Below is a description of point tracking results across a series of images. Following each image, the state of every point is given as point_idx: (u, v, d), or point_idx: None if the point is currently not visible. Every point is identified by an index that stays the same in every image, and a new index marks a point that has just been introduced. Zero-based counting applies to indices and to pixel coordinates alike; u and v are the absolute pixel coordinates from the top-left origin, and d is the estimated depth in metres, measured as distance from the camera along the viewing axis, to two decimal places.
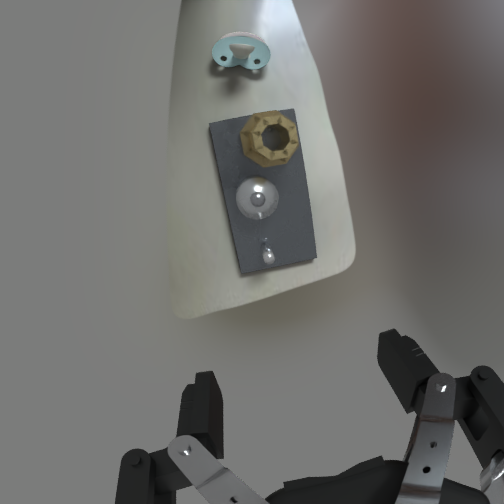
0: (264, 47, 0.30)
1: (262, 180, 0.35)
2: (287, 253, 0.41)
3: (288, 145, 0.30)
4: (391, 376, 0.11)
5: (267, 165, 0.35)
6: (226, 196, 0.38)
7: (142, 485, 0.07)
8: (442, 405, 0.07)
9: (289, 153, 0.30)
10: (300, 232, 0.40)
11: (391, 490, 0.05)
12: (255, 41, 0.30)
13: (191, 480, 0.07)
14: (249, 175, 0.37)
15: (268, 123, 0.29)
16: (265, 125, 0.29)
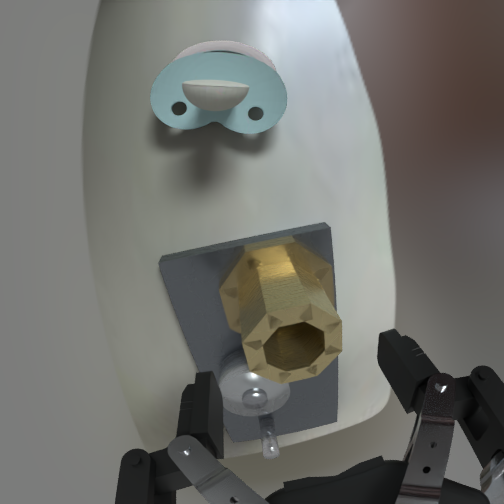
0: (272, 79, 0.14)
1: None
2: (296, 424, 0.25)
3: (320, 358, 0.14)
4: (391, 376, 0.11)
5: None
6: None
7: (142, 485, 0.07)
8: (442, 405, 0.07)
9: (320, 370, 0.14)
10: (318, 403, 0.24)
11: (391, 490, 0.05)
12: (251, 63, 0.14)
13: (191, 480, 0.07)
14: (240, 347, 0.21)
15: (280, 323, 0.13)
16: (273, 328, 0.13)
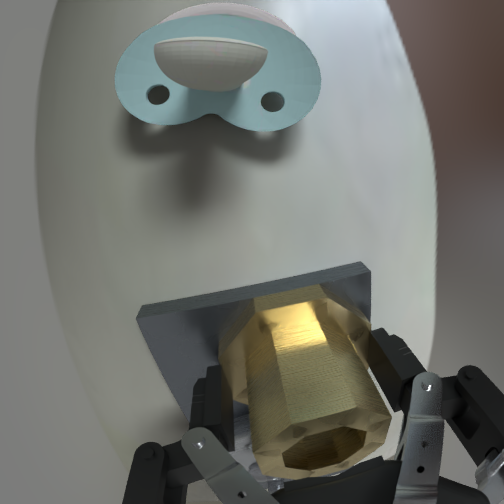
0: (298, 52, 0.09)
1: None
2: None
3: (355, 454, 0.09)
4: (379, 375, 0.12)
5: None
6: None
7: (153, 479, 0.07)
8: (430, 404, 0.07)
9: (352, 463, 0.09)
10: None
11: (386, 492, 0.05)
12: (266, 30, 0.09)
13: (201, 472, 0.07)
14: (246, 412, 0.15)
15: (309, 432, 0.08)
16: (298, 437, 0.08)
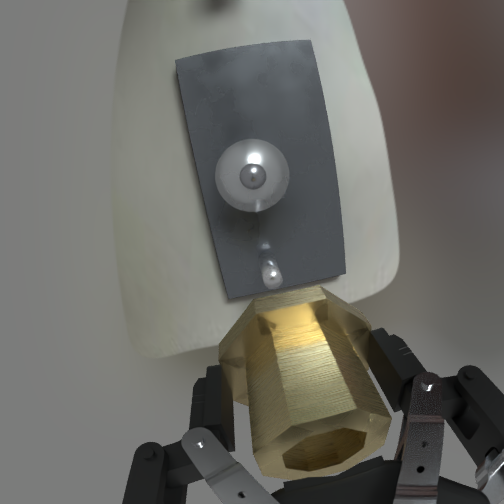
0: None
1: (261, 144, 0.19)
2: (301, 268, 0.26)
3: (355, 455, 0.09)
4: (379, 375, 0.12)
5: None
6: (201, 174, 0.22)
7: (153, 479, 0.07)
8: (430, 404, 0.07)
9: (352, 464, 0.09)
10: (322, 234, 0.25)
11: (386, 492, 0.05)
12: None
13: (201, 472, 0.07)
14: (239, 139, 0.21)
15: (309, 433, 0.08)
16: (298, 439, 0.08)
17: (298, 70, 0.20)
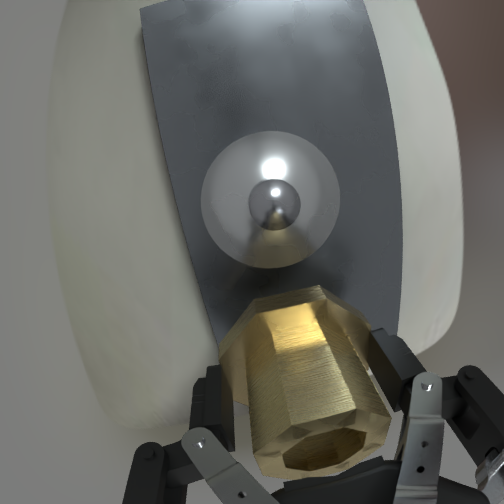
0: None
1: (290, 141, 0.10)
2: None
3: (355, 454, 0.09)
4: (379, 375, 0.12)
5: None
6: (179, 195, 0.13)
7: (153, 479, 0.07)
8: (430, 404, 0.07)
9: (352, 464, 0.09)
10: (373, 287, 0.15)
11: (386, 492, 0.05)
12: None
13: (201, 472, 0.07)
14: (246, 133, 0.12)
15: (309, 433, 0.08)
16: (298, 438, 0.08)
17: (343, 25, 0.10)
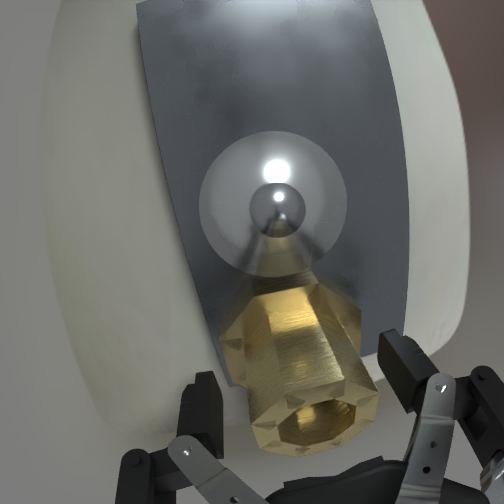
0: None
1: (294, 142, 0.09)
2: None
3: (347, 430, 0.10)
4: (391, 376, 0.11)
5: None
6: (177, 199, 0.12)
7: (142, 485, 0.07)
8: (442, 405, 0.07)
9: (345, 441, 0.10)
10: (378, 294, 0.15)
11: (391, 490, 0.05)
12: None
13: (191, 480, 0.07)
14: (247, 133, 0.11)
15: (302, 403, 0.09)
16: (292, 408, 0.09)
17: (348, 21, 0.10)
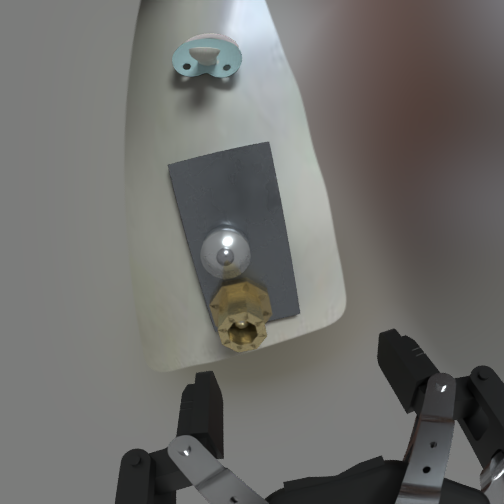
0: (235, 49, 0.25)
1: (230, 234, 0.30)
2: None
3: (256, 339, 0.30)
4: (391, 376, 0.11)
5: None
6: (192, 250, 0.33)
7: (142, 485, 0.07)
8: (442, 405, 0.07)
9: (257, 345, 0.30)
10: (280, 287, 0.35)
11: (391, 490, 0.05)
12: (224, 43, 0.25)
13: (191, 480, 0.07)
14: (217, 225, 0.32)
15: (234, 321, 0.29)
16: (231, 323, 0.29)
17: (259, 169, 0.30)
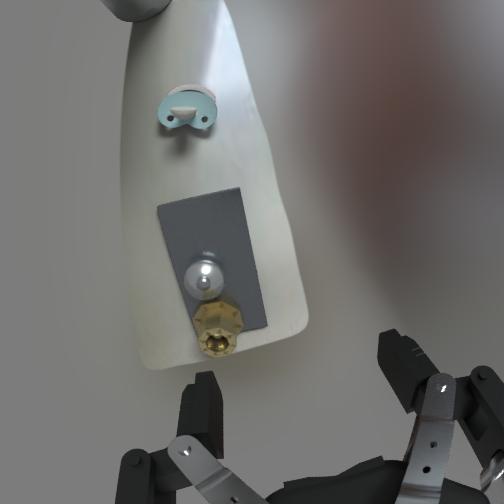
0: (211, 103, 0.32)
1: (207, 266, 0.37)
2: None
3: (228, 348, 0.37)
4: (391, 376, 0.11)
5: None
6: (178, 275, 0.40)
7: (142, 485, 0.07)
8: (442, 405, 0.07)
9: (229, 353, 0.38)
10: (250, 305, 0.42)
11: (391, 490, 0.05)
12: (202, 96, 0.32)
13: (190, 480, 0.07)
14: (197, 256, 0.39)
15: (210, 334, 0.36)
16: (207, 335, 0.36)
17: (231, 211, 0.37)
